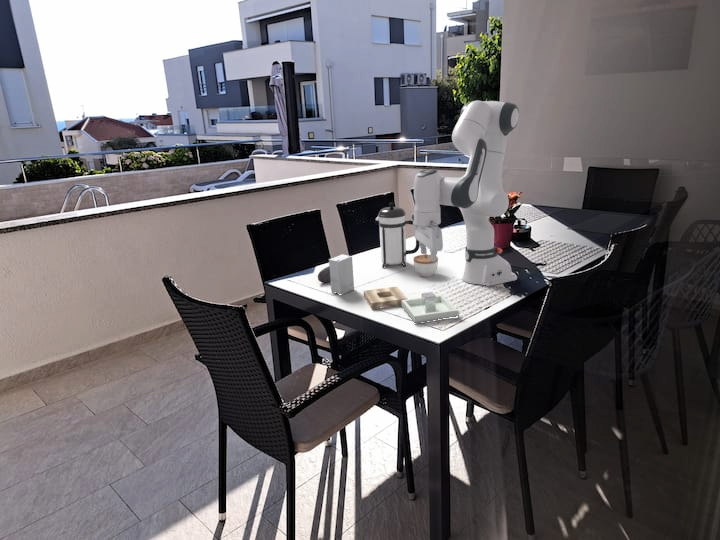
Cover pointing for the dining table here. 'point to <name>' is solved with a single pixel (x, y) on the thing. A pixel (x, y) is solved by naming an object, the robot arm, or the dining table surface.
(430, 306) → the pin
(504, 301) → the dining table surface
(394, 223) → the coffee press
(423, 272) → the lidded jar
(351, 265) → the skincare box
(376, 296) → the socket block
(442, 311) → the tray
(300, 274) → the dining table surface
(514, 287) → the dining table surface
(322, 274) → the perforated stone tool
